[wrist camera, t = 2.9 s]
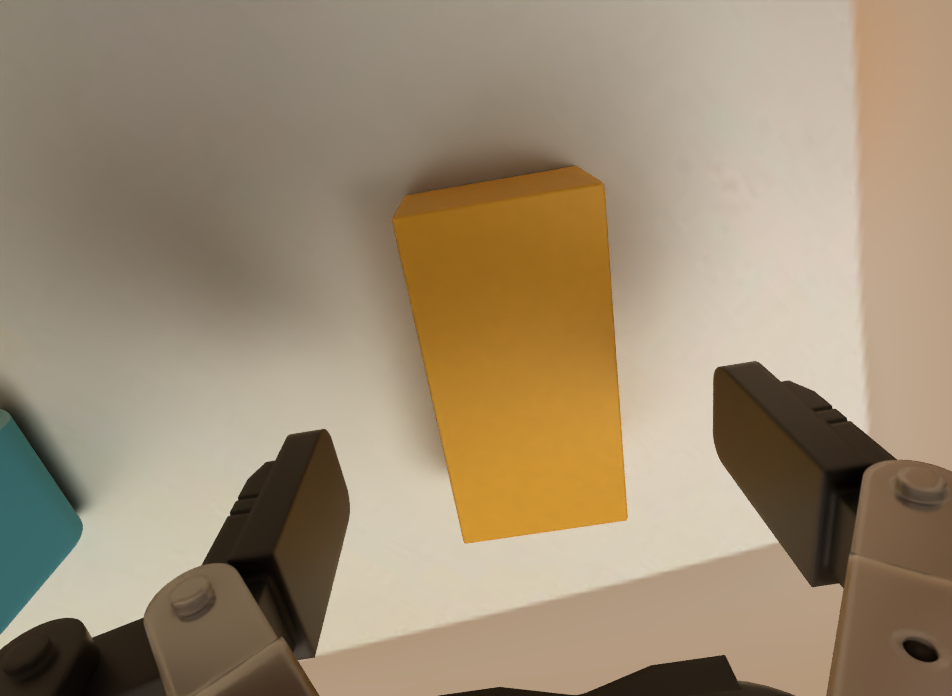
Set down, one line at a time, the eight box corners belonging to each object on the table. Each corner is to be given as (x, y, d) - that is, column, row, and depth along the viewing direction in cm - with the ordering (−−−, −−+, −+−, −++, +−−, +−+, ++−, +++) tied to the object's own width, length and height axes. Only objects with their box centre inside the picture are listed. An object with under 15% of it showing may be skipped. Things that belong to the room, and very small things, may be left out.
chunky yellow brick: (577, 164, 15) (604, 182, 12) (603, 456, 18) (628, 520, 15) (403, 194, 15) (391, 218, 12) (463, 477, 18) (463, 544, 16)
